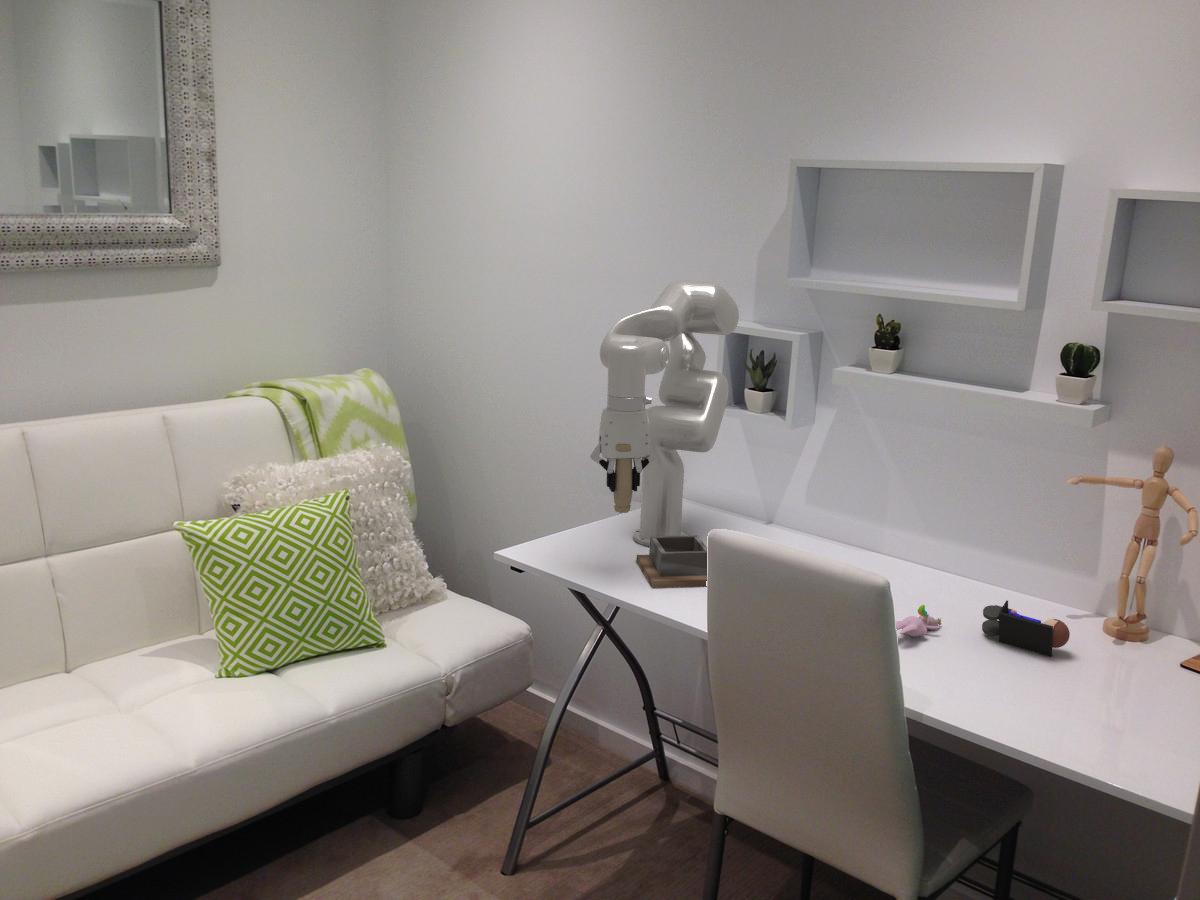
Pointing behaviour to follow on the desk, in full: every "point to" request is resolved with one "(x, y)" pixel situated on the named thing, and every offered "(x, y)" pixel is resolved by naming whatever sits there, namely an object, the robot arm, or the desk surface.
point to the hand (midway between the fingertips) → (622, 488)
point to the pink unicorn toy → (918, 623)
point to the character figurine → (1024, 630)
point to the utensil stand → (675, 562)
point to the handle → (623, 481)
